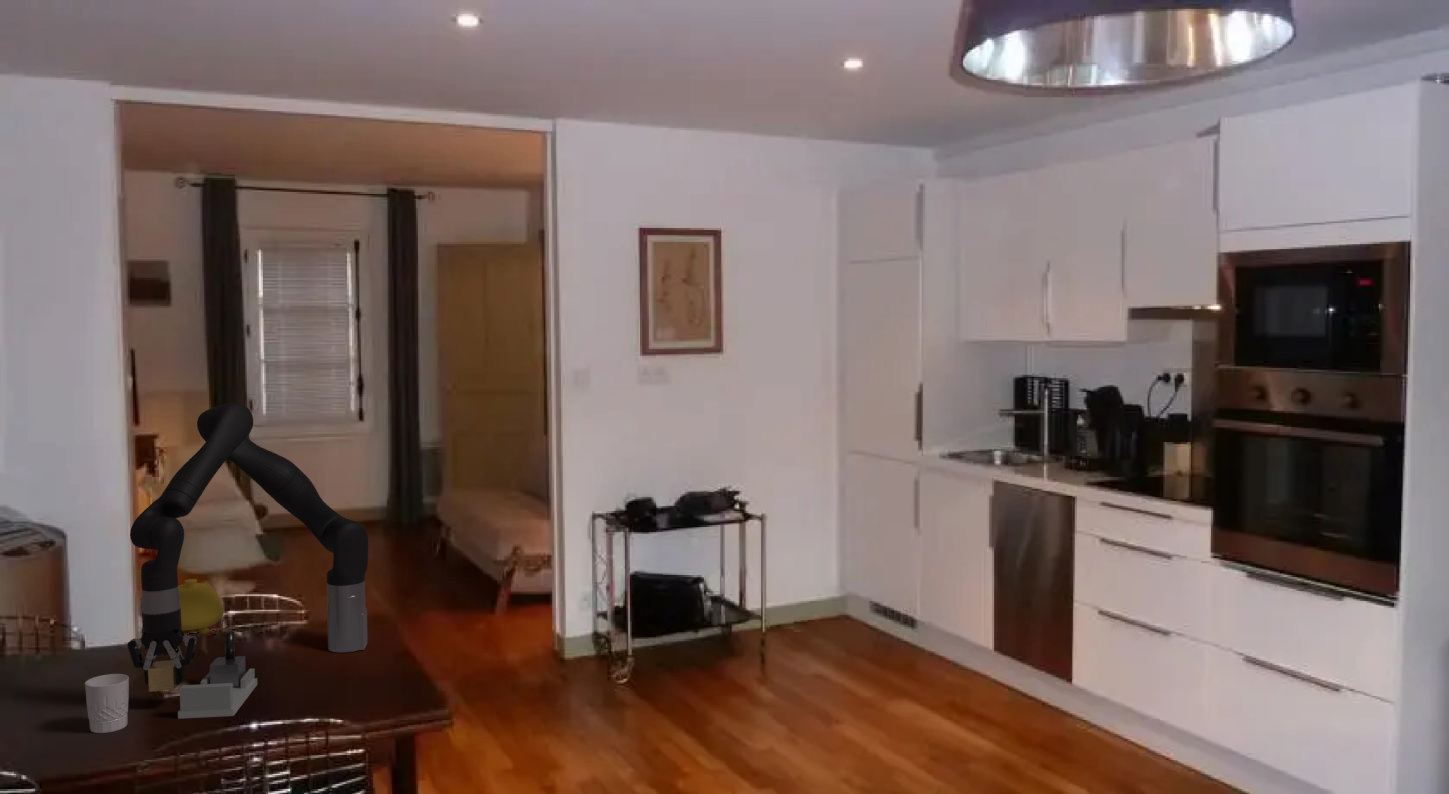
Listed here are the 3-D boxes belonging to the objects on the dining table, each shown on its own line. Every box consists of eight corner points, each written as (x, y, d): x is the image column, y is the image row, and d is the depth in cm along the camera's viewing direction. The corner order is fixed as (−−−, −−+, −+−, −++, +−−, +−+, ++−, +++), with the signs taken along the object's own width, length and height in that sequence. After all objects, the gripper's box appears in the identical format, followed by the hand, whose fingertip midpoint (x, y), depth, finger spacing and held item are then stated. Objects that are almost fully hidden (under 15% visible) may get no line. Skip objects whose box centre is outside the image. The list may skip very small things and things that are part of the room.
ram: (218, 678, 251) (216, 631, 250) (245, 677, 252) (244, 630, 251) (210, 687, 245) (208, 639, 244) (238, 686, 246) (237, 638, 245)
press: (207, 685, 252) (207, 657, 251) (258, 683, 254) (257, 655, 253) (178, 718, 231) (177, 688, 231) (233, 716, 233) (232, 686, 232)
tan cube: (181, 682, 241) (180, 660, 240) (174, 690, 236) (172, 667, 235) (157, 683, 240) (155, 661, 239) (149, 691, 235) (147, 668, 235)
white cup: (120, 717, 232) (119, 671, 231) (137, 726, 227) (135, 679, 226) (80, 728, 225) (78, 680, 225) (96, 737, 220) (94, 689, 220)
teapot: (136, 642, 284) (135, 590, 283) (146, 626, 299) (144, 576, 298) (221, 635, 291) (220, 584, 290) (226, 619, 305) (224, 571, 304)
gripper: (201, 601, 241) (205, 676, 243) (131, 605, 239) (135, 680, 240) (191, 611, 234) (195, 688, 235) (118, 614, 231) (123, 692, 233)
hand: (165, 684), depth 238 cm, fingers closed on tan cube, 5 cm apart
